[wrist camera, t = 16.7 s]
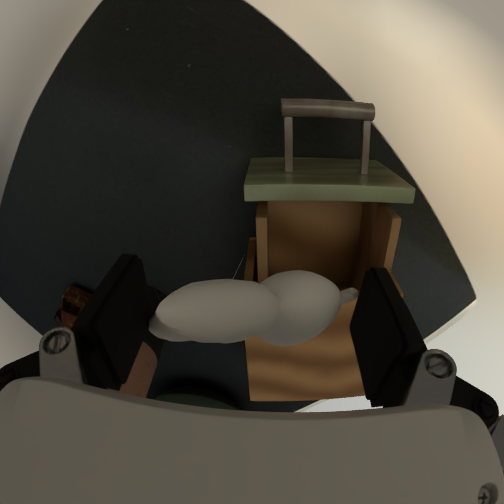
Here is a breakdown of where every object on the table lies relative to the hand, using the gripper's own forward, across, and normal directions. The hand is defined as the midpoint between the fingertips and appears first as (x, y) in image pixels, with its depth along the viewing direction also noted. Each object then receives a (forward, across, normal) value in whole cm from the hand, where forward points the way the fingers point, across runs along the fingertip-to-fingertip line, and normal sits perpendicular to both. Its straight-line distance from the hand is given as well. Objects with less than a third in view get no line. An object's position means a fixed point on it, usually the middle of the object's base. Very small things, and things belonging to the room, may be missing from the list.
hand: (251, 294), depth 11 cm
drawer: (+19, -5, +3) cm, 20 cm away
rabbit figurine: (+2, 0, 0) cm, 2 cm away
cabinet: (+20, -6, +15) cm, 26 cm away
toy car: (+20, +27, +22) cm, 40 cm away
